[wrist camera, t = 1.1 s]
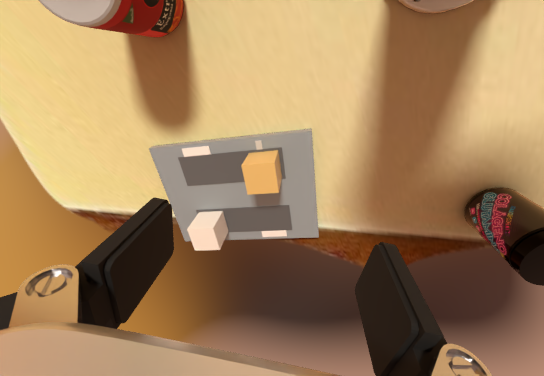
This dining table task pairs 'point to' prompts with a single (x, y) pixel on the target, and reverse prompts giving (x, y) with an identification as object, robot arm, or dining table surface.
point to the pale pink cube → (208, 230)
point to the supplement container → (511, 229)
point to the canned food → (121, 14)
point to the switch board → (242, 184)
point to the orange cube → (262, 172)
